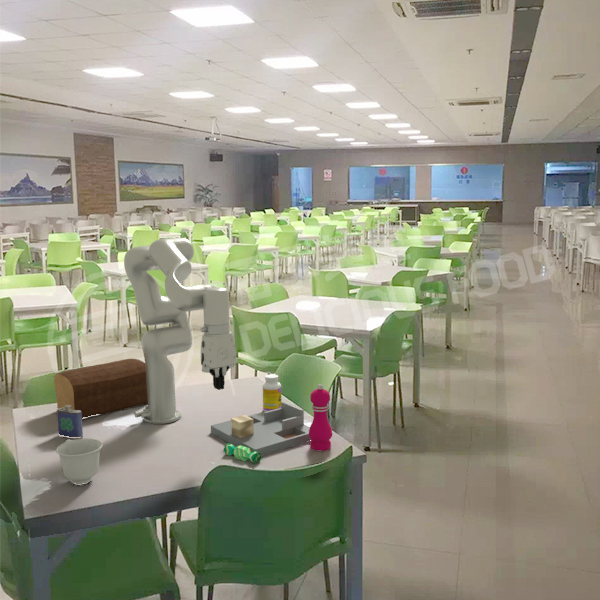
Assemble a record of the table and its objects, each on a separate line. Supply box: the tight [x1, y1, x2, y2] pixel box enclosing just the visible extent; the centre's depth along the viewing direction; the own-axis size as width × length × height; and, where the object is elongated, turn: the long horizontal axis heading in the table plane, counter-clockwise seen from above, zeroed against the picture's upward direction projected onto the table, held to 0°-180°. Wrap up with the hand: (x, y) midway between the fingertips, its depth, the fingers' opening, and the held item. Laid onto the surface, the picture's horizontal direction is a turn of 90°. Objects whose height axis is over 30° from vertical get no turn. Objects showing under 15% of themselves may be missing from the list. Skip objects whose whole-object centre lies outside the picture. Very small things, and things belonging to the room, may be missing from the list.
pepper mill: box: [309, 383, 333, 452], centre depth 203 cm, size 7×7×20 cm
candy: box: [223, 442, 263, 465], centre depth 197 cm, size 12×3×4 cm
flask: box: [56, 405, 84, 438], centre depth 215 cm, size 9×3×11 cm, turn 68°
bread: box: [53, 358, 148, 418], centre depth 244 cm, size 18×30×16 cm, turn 131°
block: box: [230, 414, 254, 438], centre depth 210 cm, size 5×5×5 cm
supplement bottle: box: [262, 373, 282, 412], centre depth 238 cm, size 7×7×13 cm
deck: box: [210, 401, 311, 456], centre depth 215 cm, size 24×26×8 cm
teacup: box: [55, 438, 103, 484], centre depth 184 cm, size 12×15×10 cm
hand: (219, 388), depth 202 cm, fingers closed
